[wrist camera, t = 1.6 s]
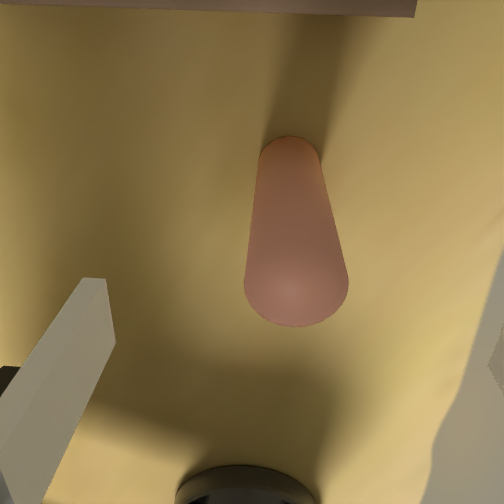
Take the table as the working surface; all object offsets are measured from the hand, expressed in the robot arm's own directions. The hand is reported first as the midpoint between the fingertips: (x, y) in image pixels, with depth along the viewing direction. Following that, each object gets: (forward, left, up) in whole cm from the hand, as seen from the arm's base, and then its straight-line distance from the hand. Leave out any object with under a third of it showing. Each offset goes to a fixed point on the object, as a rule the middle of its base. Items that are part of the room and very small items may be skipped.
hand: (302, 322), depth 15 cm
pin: (0, 0, -17) cm, 17 cm away
